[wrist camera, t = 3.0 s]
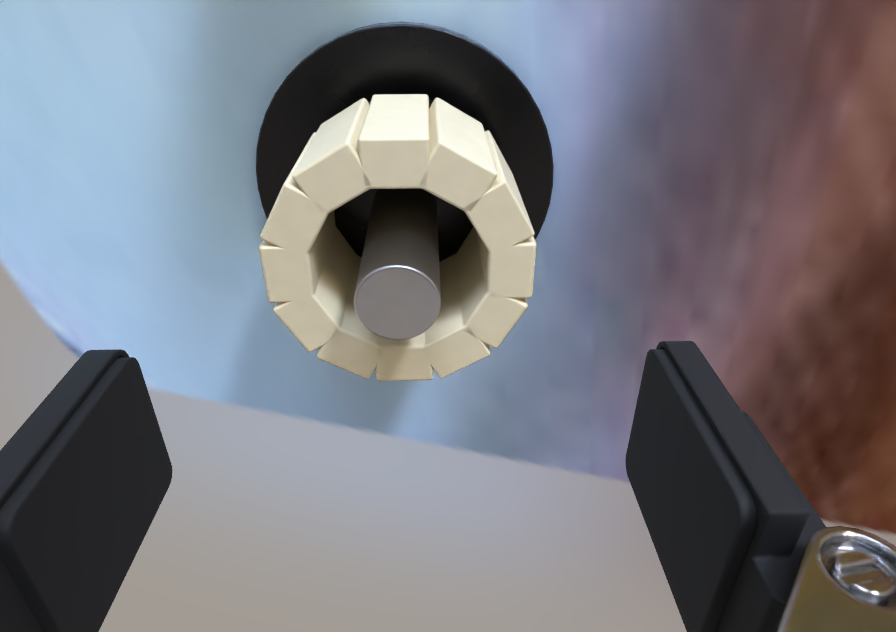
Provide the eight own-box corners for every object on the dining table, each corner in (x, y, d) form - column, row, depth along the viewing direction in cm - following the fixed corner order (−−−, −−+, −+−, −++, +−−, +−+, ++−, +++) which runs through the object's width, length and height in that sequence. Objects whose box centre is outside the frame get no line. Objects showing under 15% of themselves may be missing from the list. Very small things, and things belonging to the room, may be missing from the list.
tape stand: (234, 22, 18) (112, 75, 11) (564, 20, 19) (652, 71, 11) (282, 306, 24) (220, 466, 16) (538, 302, 24) (587, 458, 17)
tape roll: (279, 94, 17) (238, 139, 13) (519, 93, 17) (546, 136, 13) (308, 302, 21) (282, 384, 17) (507, 298, 21) (525, 379, 17)
